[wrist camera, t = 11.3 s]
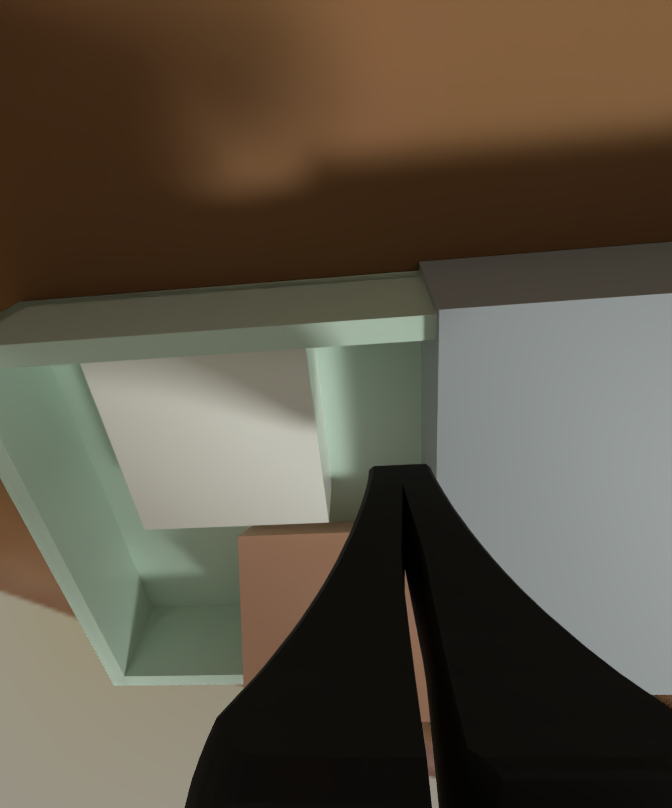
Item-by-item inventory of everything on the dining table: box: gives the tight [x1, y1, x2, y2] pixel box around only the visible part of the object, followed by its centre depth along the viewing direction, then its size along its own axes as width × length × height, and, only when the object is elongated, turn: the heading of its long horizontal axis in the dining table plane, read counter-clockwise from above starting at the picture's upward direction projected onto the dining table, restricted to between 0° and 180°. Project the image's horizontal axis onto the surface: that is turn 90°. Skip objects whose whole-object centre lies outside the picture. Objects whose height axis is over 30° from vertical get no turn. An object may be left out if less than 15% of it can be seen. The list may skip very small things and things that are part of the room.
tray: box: [0, 271, 437, 686], centre depth 16 cm, size 14×12×4 cm
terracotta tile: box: [238, 521, 430, 722], centre depth 17 cm, size 6×6×2 cm
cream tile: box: [80, 348, 332, 530], centre depth 15 cm, size 6×6×2 cm
